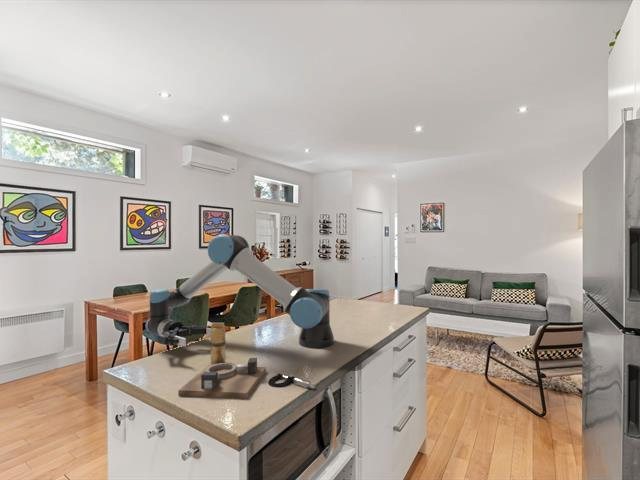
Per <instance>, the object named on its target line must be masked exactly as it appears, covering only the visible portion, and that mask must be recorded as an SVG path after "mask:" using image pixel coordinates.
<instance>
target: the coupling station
mask: <svg viewBox="0 0 640 480" xmlns="http://www.w3.org/2000/svg"><path fill="white" fill-rule="evenodd" d="M248 358H249V359H248V361H247V363H240V364H239V363H238V364H237V365H236V364H234V363H232V362H225V363H219V364H214V365H211V364H210V365H206V367H205V368H204V369H203V370H200V372H199V373H198V374H196V375H195V376H194V377H193V378H192V379H190V380H189V381H187V383H185V384H184V385H183V386H181V387H180V388H179V389H178V390H177V392H178V393H177V394H178V395H180V397H182V396H183V397H202V398H203V397H204V398H231V399H247V398H248V397H249V396H250V394H252V392H253V391H254V389H255V388H256V386H257V385H258V383H259V382H260V381H261V379H262V377H264V375H265V373H266V371H267V369H266V366H258V357H248Z"/></svg>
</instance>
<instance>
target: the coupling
mask: <svg viewBox="0 0 640 480" xmlns="http://www.w3.org/2000/svg"><path fill="white" fill-rule="evenodd" d="M211 326H212V327H211V336H210V342H209V345H210V365H214V364H219V363H226V345H227V341H226V326H225V322H212V323H211Z"/></svg>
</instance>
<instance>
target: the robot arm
mask: <svg viewBox="0 0 640 480" xmlns="http://www.w3.org/2000/svg"><path fill="white" fill-rule="evenodd" d="M207 255H208V257H209V259H210V261H209V262H208V263H206V265H204V266H203V267H202V268H201V269H200V270H198V271H197V272H195V273H194V274H193V275H192V276H191V277H189V278H188V279H187V280H186V281H184V282H183V283H182V284H181V285H179V286H178V287H177V288H176V289H175V290H173V291H170V290H169V289H167V288H162V289H161V288H160V289H159V288H157V289H152V290H151V291H150V292H149V318H148V319H147V321H146V323H145V330H146V331H147V332H148V333H150V334H151V335H154V336H158V337H161V339H162V340H163V343H164V345H168V344H169V346H170V347H171V346H174V345H178V346H180V347H187V338H185V337H189V336H190V337H191V336H193V335H206V336H208V337H211V327H212V325H193V324H192V325H191V326H186V325H184V323H183V322H182V321H178V320H175V319H170V310H171V309H174V308H178V307H182V306H185V305H187V304H188V303H189V302H190V301H191V299H192V298H193V297H194V296H195V295H197V294H198V293H199V292H201V291H202V290H203V289H204V288H206V287H207V286H208V285H209V284H211V283H212V282H213V281H214V280H216V279H217V278H218V277H220V276H221V275H222V274H223V273H224V272H226V271H227V270H230V272H235V271H237V272H239V274H240V275H241V274H242V276H244V277H245V278H246V279H248V280H249V281H251V282H252V284H254V285H256V286H257V287H259V289H261V290H262V291H263V292H265V293H266V294H268V295H269V296H270V297H272V299H275V301H276V302H278V303H279V304H281V305H282V306H283V311H284V313H286V314H287V315H289V316H290V319H291V321H292V323H293V324H294V325H295V326H296V327H298V328H300V329H301V330H300V333H299V336H298V344H299V345H300V346H302V347H306V348H314V349H315V348H325V347H329V345H330V346H332V345H334V343H335V336H334V334H333V331H332V330H333V329H332V328H331V322H330V321H331V319H330V316H331V315H330V310H331V309H330V298H331V296H330V291H329V290H328V289H326V288H325V289H323V288H321V289H320V288H319V289H317V288H312V289H311V288H306V289H305V288H304V287H303V286H300V287H296V286H295V285H293V284H292V283H290V282H289V281H288V280H287V279H285V278H284V277H282V275H280V274H278V273H277V272H276V271H275V270H273V269H271V268H270V267H269V266H268V265H266V264H265V263H264V262H262V261H261V260H260V259H258V258H257V257H256V256H254V255H253V254H252V253H251V249H250V245H249V242H248V240H246V238H244V237H243V236H240V235H232V234H224V233H223V234H217V235H215V236H214V237H212V238H211V240H210V241H209V242H208V245H207ZM331 344H332V345H331Z"/></svg>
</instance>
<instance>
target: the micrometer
mask: <svg viewBox="0 0 640 480" xmlns="http://www.w3.org/2000/svg"><path fill="white" fill-rule="evenodd" d="M279 379H284V380H285V381H283V382H280V383H277V381H278V380H279ZM267 383H268V385H269V386H270V387H271V388H284V387H288V386H290V384H294V385H297V386H299V387H302V388H305V389H311V390H315V389H316V384H313V383H312V382H311V381H309V380H305V379H303V378H299V377H296V376H294V374H290V375H289V376H287V375H285V374H282V373H277V375H274V376H272V377H271V378H270V379H268V381H267Z"/></svg>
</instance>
